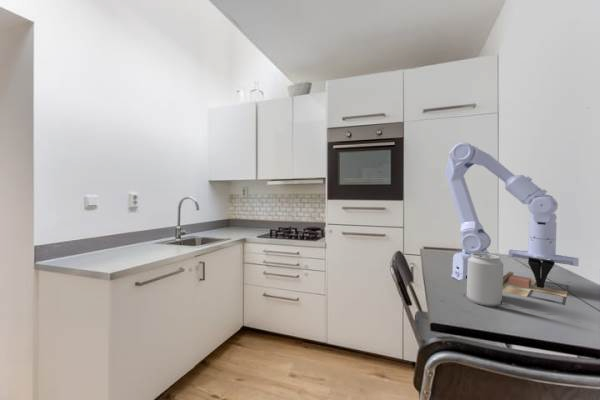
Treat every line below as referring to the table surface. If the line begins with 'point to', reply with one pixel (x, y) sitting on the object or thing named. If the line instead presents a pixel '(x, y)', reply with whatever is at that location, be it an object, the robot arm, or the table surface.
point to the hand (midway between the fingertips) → (540, 286)
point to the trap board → (533, 289)
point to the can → (485, 279)
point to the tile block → (520, 281)
